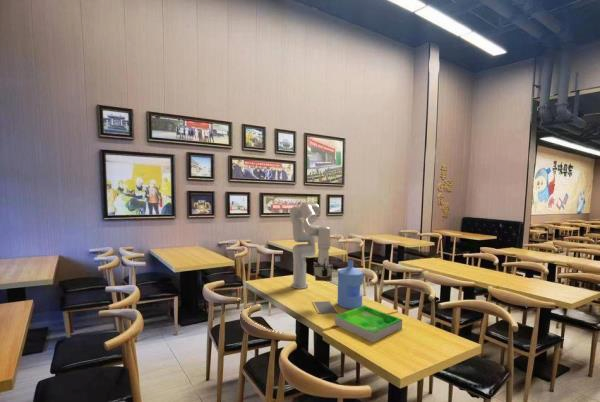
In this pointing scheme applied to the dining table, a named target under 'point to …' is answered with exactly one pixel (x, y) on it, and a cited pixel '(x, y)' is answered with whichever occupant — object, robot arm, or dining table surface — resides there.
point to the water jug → (349, 287)
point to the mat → (324, 307)
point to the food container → (318, 272)
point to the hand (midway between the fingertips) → (323, 274)
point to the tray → (368, 323)
